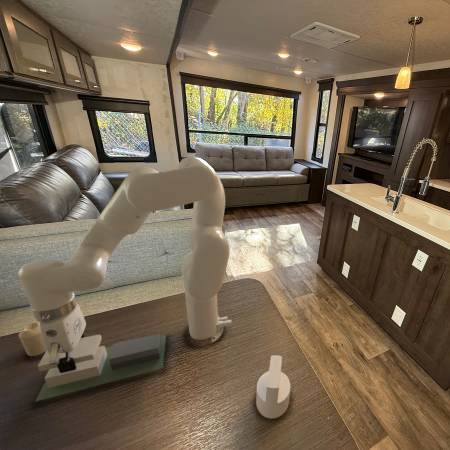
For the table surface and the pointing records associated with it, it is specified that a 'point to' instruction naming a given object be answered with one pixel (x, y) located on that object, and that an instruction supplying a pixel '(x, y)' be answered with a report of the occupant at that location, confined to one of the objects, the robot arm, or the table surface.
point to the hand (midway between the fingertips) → (74, 357)
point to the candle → (32, 339)
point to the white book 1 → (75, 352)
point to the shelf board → (105, 375)
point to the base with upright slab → (273, 390)
